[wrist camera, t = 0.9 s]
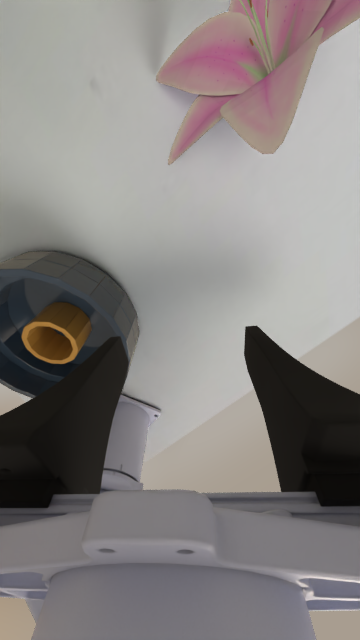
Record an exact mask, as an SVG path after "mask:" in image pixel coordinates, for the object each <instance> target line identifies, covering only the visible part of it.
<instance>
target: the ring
mask: <svg viewBox="0 0 360 640" xmlns="http://www.w3.org/2000/svg"><path fill="white" fill-rule="evenodd" d="M51 327H52V328H54V329H56V330H58V331H61V332H62V333H63V334H64V335H65V336H66V337H67V338H66V337H64V336H62V335H60V334H57V333H56V332H55V331H54V330H53V329H52V328H51ZM91 330H92V328H91V323H90V319H89V318H88V316H87V315H86V314H85V313H84V312H83V311H82V310H81V309H80V308H78V307H76V306H74V305H72V304H70V303H63V302H54V303H52V304H51V305H49V306H47V307H45V308H44V309H43V310H42V311H41V312H40V313H39V314H38V315H37V316H36V317H35V318H33V319H32V320H31V321H30V322H29V323H28V324H27V325H26V326H25V327H24V329H23V333H22V336H21V337H22V340H23V343H24V345H25V347H26V348H27V350H28V351H30V352H31V353H32V354H33V355H34V356H35V357H38V358H39V359H41V360H44V361H46V362H49V363H53V364H65V363H67V362H69V361H72V360H74V359H75V357H76V356H77V354H78V352H79V351H80V349H81V348H82V346H83V344H84V343H85V341H86V340H87V338H88V336H89V334H90V332H91Z"/></svg>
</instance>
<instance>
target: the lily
mask: <svg viewBox="0 0 360 640" xmlns="http://www.w3.org/2000/svg"><path fill="white" fill-rule="evenodd" d="M359 18H360V0H231V3H230V7H229V12H224V13H221V14H219V15H217V16H214V17H212V18H210V19H208V20H207V21H206V22H204V23H203V24H202V25H200V26H199V27H198V28H196V29H195V30H194V31H193V32H192V33H191V34H190V35H189V36H188V37H187V38H186V39H185V40H184V41H183V42H182V43H181V44H180V45H179V46H178V47H177V48H176V50H175V51H174V52H173V53H172V54H171V55H170V57H169V58H168V59H167V60H166V62H165V63H164V65H163V66H162V67H161V69H160V70H159V72H158V74H157V76H156V81H158V82H159V83H162V84H165V85H169V86H173V87H175V88H178V89H180V90H183V91H186V92H190V93H193V94H200V95H199V96H198V97H197V98H196V99H195V101H194V102H193V104H192V105H191V107H190V109H189V111H188V112H187V114H186V116H185V118H184V120H183V122H182V125H181V127H180V129H179V131H178V133H177V136H176V138H175V141H174V143H173V146H172V149H171V152H170V155H169V159H168V165H170V164H172V163H173V162H174V161H175V160H176V159H177V158H179V157H180V156H181V155H182V154H183V153H184V152H185V151H186V150H187V149H188V148H189V147H191V146H192V145H193V144H194V143H195V142H196V141H197V140H198V139H199V138H201V137H202V136H203V135H204V134H205V133H206V132H207V131H208V130H209V129H211V128H212V127H213V126H214V125H215V124H216V123H217V122H218V121H220V120H221V119H222V118H224V119H225V120H226V121H227V122H228V123H229V124H230V126H231V127H232V128H233V129H234V130H235V131H236V132H237V133H238V134H239V136H241V137H242V138H243V139H244V140H245V141H246V142H247V143H248V144H249V145H250V146H251V147H252V148H254V149H256V150H257V151H259V152H260V153H262V154H273V153H274V152H275V151H276V150H277V149H278V147H279V146H280V145H281V144H282V143H283V141H284V139H285V136H286V134H287V132H288V130H289V128H290V125H291V123H292V121H293V118H294V115H295V112H296V109H297V106H298V103H299V101H300V98H301V95H302V92H303V89H304V86H305V83H306V80H307V77H308V74H309V71H310V68H311V65H312V62H313V59H314V57H315V54H316V51H317V49H318V46H319V45H320V44H321V43H323V42H324V41H325V40H327V39H328V38H330V37H331V36H333V35H334V34H336V33H337V32H339V31H340V30H342V29H343V28H345V27H346V26H348V25H349V24H351V23H352V22H354V21H356V20H357V19H359Z"/></svg>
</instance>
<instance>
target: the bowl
mask: <svg viewBox="0 0 360 640" xmlns="http://www.w3.org/2000/svg"><path fill="white" fill-rule="evenodd" d="M54 302H63V303H70V304H72V305H74V306H76V307H78V308H80V309H81V310H82V311H83V312H84V313H85V314H86V315H87V316H88V318H89V319H90V323H91V328H92V330H91V332H90V334H89V336H88V338H87V340H86V341H85V343H84V344H83V346H82V348H81V349H80V351H79V352H78V354H77V356H76V357H75V359H74V360H72V361H69V362H67V363H65V364H53V363H49V362H46V361H44V360H41V359H39V358H38V357H35V356H34V355H33V354H32V353H31V352H30V351H28V350H27V348H26V347H25V345H24V343H23V340H22V337H21V336H22V333H23V329H24V327H25V326H26V325H27V324H28V323H29V322H30V321H31V320H32V319H33V318H35V317H36V316H37V315H38V314H39V313H40V312H41V311H42V310H43V309H44V308H45V307H47V306H49V305H51V304H52V303H54ZM51 328H52V327H51ZM52 329H53V330H54V331H55V332H56V333H57V334H60V335H62V336H64V337H66V336H65V335H64V334H63V333H62V332H61V331H58V330H56V329H54V328H52ZM117 336H121V339H122V342H123V345H124V348H125V352H126V355H127V358H128V361H129V365H128V371H129V368H130V365H131V362H132V358H133V355H134V352H135V349H136V345H137V340H138V336H139V326H138V319H137V313H136V311H135V309H134V307H133V305H132V303H131V302H130V300H129V298H128V296H127V294H126V293H125V291H124V290H123V289H122V288H121V287H120V286H119V285H118V284H117V283H116V282H115V281H114V280H113V279H112V278H111V277H110V276H109V275H108V274H107V273H105V272H103V271H102V270H100V269H98V268H96V267H95V266H93V265H91V264H90V263H88V262H86V261H85V260H82V259H80V258H77V257H73V256H70V255H66V254H63V253H59V252H56V251H35V252H26V253H23V254H21V255H19V256H16V257H14V258H11V259H9V260H6V261H4V262H2V263H0V383H1V384H3V385H5V386H6V387H8V388H10V389H11V390H13V391H15V392H18V393H21V394H23V395H26V396H28V397H31V398H35V397H36V396H38V395H39V394H41V393H43V392H44V391H46V390H47V389H49V388H50V387H52V386H53V385H55V384H56V383H58V382H59V381H60V380H62V379H63V378H65V377H66V376H67V375H68V374H70V373H71V372H72V371H73V370H75V369H76V368H77V367H78V366H79V365H80V364H82V363H83V362H84V361H85V360H86V359H87V358H88V357H89V356H91V355H92V354H93V353H94V352H95V351H96V350H97V349H98V348H99V347H100V346H101V345H102V344H103V343H104V342H105V341H107V340H108V339H109V338H110V337H117ZM66 338H67V337H66ZM128 371H127V375H128ZM126 378H127V376H126Z"/></svg>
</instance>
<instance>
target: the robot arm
mask: <svg viewBox="0 0 360 640" xmlns="http://www.w3.org/2000/svg"><path fill="white" fill-rule="evenodd" d="M244 356H245V360H246V365H247V369H248V372H249V375H250V378H251V380H252V383H253V386H254V389H255V391H256V394H257V397H258V399H259V402H260V405H261V408H262V411H263V415H264V418H265V422H266V426H267V430H268V434H269V438H270V442H271V447H272V451H273V455H274V460H275V464H276V468H277V473H278V478H279V482H280V487H281V492H245V493H199V492H196V491H190V490H142V489H143V483H140V477H141V471H142V465H143V458H144V452H145V446H146V439H147V433H148V427H149V426H150V425H151V424H152V423H153V422H154V421H155V420H156V419H157V418H158V417H159V416H160V415H161V411H160V410H158V409H156V408H153V407H151V406H148V405H146V404H143V403H141V402H138V401H136V400H133V399H131V398H128V397H126V396H123V395H121V392H122V389H123V386H124V383H125V380H126V376H127V371H128V365H129V361H128V358H127V355H126V352H125V348H124V345H123V342H122V339H121V336H117V337H110V338H109V339H108V340H107V341H105V342H104V343H103V344H102V345H101V346H100V347H99V348H98V349H97V350H96V351H95V352H94V353H93V354H92V355H91V356H89V357H88V358H87V359H86V360H85V361H84V362H83V363H82V364H80V365H79V366H78V367H77V368H76V369H75V370H73V371H72V372H71V373H70V374H68V375H67V376H66V377H65V378H63V379H62V380H60V381H59V382H58V383H56V384H55V385H53V386H52V387H50V388H49V389H47V390H46V391H44V392H43V393H41V394H39V395H38V396H36V397H35V398H33V399H31V400H29V401H28V402H26V403H24V404H22V405H20V406H19V407H17V408H15V409H13V410H11V411H9V412H7V413H5V414H3V415H1V416H0V597H10V598H22V599H25V601H26V603H27V605H28V607H29V609H30V611H31V614H32V616H33V618H34V620H35V622H36V627H35V630H34V633H33V636H32V639H31V640H316V636H315V633H314V629H313V625H312V622H311V618H310V614H309V611H340V610H341V611H345V610H360V394H358V393H355V392H353V391H351V390H349V389H347V388H344V387H342V386H340V385H338V384H336V383H334V382H332V381H331V380H329V379H327V378H325V377H323V376H321V375H319V374H318V373H316V372H314V371H313V370H311V369H310V368H308V367H306V366H305V365H303V364H302V363H300V362H299V361H297V360H296V359H295V358H293V357H292V356H291V355H289V354H288V353H287V352H286V351H284V350H283V349H282V348H281V347H280V346H278V345H277V344H276V343H275V342H274V341H273V340H272V339H270V338H269V337H268V336H267V335H266V334H265V333H264V332H263V331H262V330H261V329H260V328H259V327H258V326H248V327H246V329H245V349H244Z"/></svg>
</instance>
